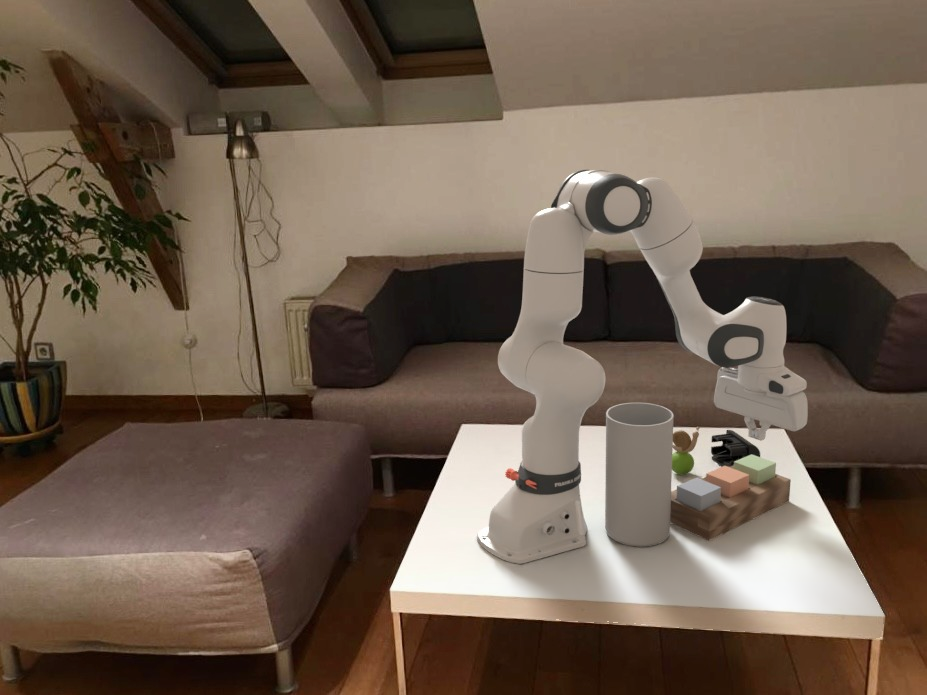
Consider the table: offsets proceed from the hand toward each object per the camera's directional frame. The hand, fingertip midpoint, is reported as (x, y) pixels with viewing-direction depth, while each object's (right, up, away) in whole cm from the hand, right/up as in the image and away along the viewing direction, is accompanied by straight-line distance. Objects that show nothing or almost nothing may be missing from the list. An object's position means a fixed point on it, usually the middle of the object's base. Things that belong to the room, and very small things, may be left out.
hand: (756, 438), depth 173 cm
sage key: (0, -9, +3) cm, 9 cm away
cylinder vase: (-27, -18, -9) cm, 33 cm away
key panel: (-7, -15, -1) cm, 16 cm away
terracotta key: (-7, -11, -2) cm, 13 cm away
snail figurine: (-11, -10, +16) cm, 22 cm away
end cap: (+2, -9, +20) cm, 22 cm away
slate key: (-14, -12, -7) cm, 20 cm away
